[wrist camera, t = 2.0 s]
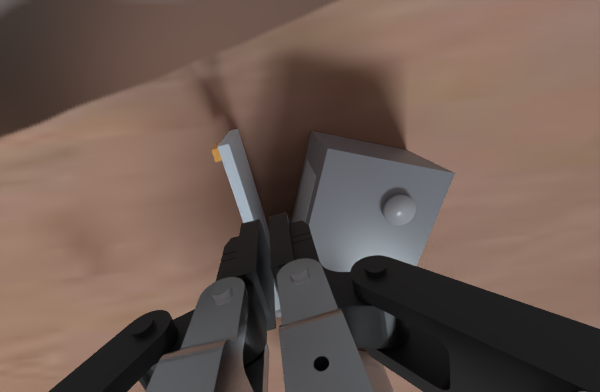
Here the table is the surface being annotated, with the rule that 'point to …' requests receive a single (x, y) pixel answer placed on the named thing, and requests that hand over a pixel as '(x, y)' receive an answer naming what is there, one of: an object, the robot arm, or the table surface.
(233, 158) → the side door
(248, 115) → the table surface
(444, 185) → the grey box with knob
